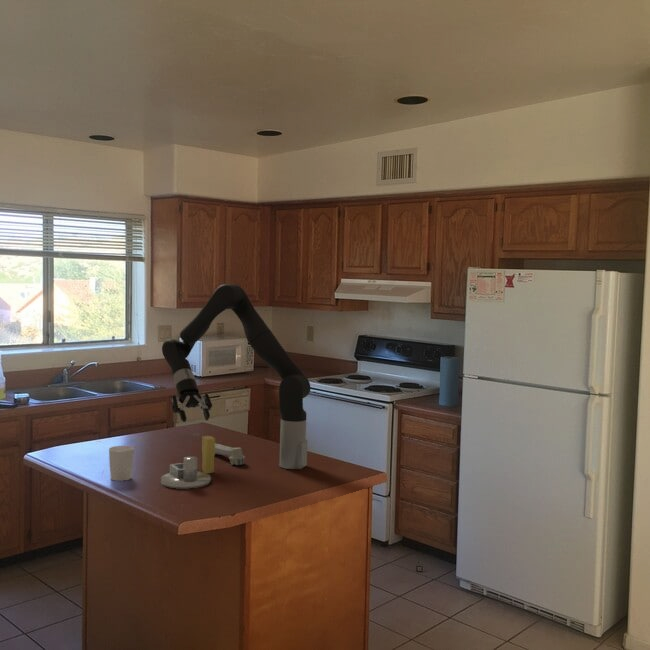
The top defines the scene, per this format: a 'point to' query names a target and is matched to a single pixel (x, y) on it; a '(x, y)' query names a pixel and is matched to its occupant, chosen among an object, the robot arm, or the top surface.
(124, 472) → the white cup
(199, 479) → the round grey holder stand
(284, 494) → the top surface
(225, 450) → the white long round-headed device
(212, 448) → the yellow block
